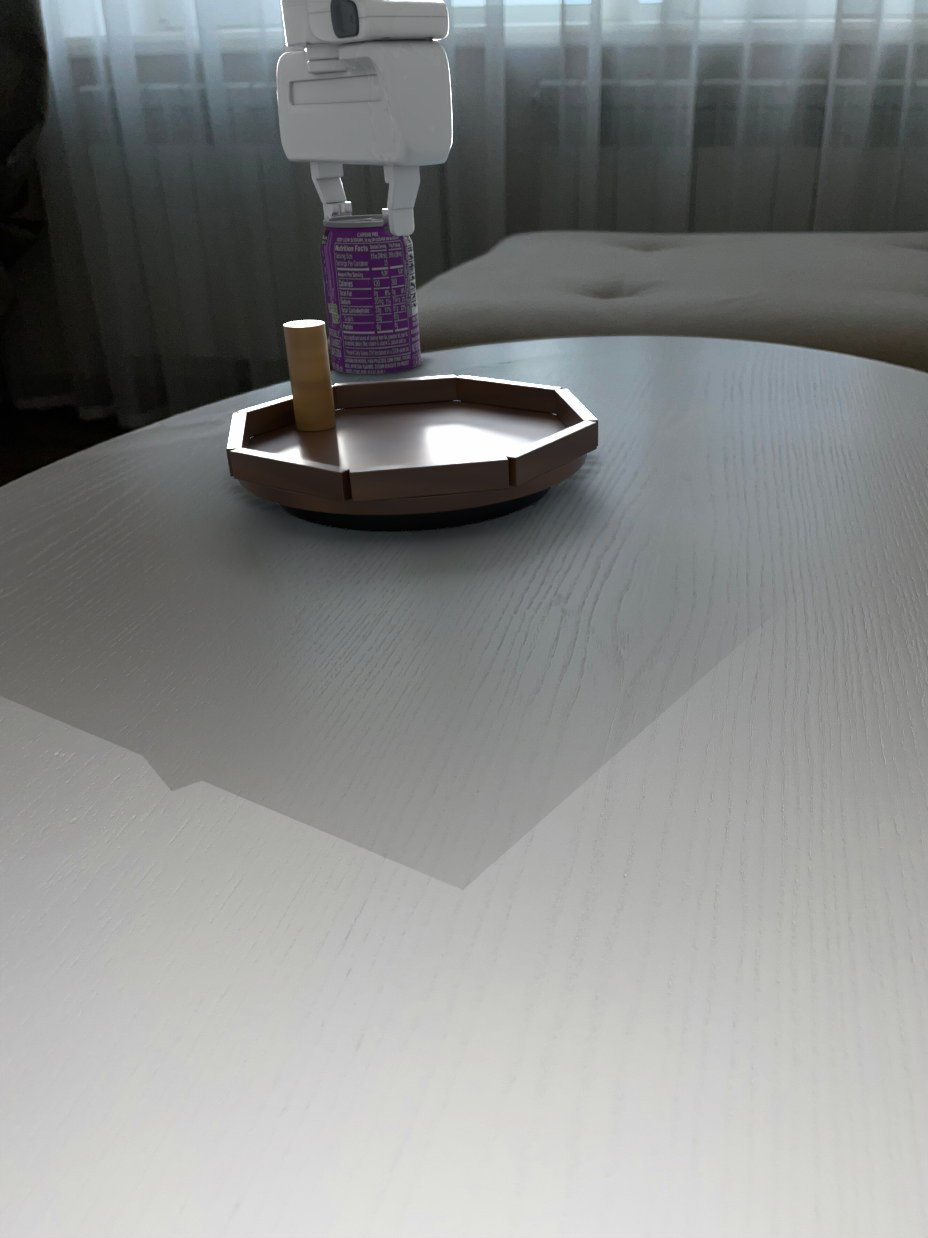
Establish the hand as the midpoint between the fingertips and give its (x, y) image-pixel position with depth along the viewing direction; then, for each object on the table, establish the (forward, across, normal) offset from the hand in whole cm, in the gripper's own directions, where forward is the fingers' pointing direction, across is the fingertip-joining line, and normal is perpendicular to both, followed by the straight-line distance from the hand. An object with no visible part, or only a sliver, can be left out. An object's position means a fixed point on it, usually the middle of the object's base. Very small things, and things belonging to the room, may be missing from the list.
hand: (368, 231), depth 84 cm
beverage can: (+11, 0, 0) cm, 11 cm away
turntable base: (+11, +26, -12) cm, 31 cm away
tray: (+10, +26, -12) cm, 30 cm away
